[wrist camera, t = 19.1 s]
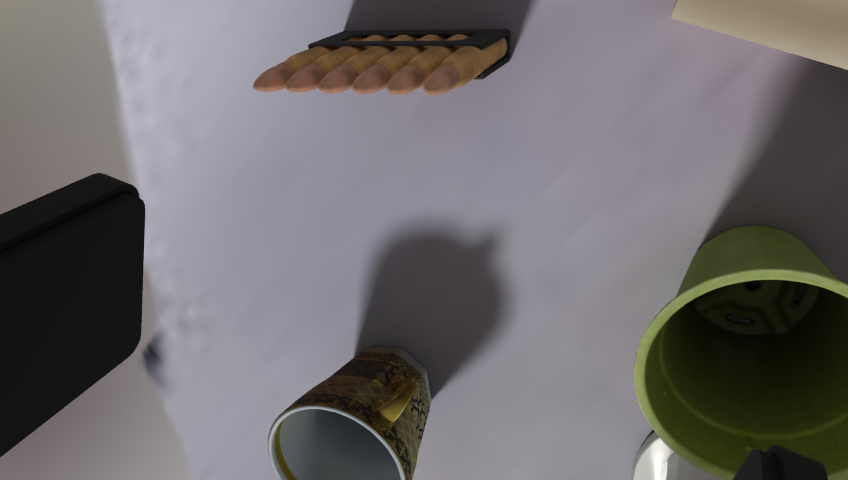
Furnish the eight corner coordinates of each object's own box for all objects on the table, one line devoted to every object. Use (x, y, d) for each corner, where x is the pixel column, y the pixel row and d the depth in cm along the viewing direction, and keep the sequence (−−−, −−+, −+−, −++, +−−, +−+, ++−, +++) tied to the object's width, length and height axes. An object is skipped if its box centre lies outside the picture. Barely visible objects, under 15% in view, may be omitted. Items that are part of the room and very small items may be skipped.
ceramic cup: (405, 454, 57) (353, 550, 49) (312, 374, 57) (243, 455, 48) (505, 366, 50) (464, 460, 42) (399, 275, 50) (337, 350, 42)
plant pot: (888, 348, 41) (945, 484, 31) (676, 374, 46) (669, 497, 36) (849, 158, 37) (899, 244, 28) (625, 210, 43) (603, 297, 33)
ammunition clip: (509, 29, 41) (445, 69, 30) (510, 61, 41) (447, 111, 31) (342, 31, 44) (234, 67, 34) (345, 61, 45) (240, 105, 35)
